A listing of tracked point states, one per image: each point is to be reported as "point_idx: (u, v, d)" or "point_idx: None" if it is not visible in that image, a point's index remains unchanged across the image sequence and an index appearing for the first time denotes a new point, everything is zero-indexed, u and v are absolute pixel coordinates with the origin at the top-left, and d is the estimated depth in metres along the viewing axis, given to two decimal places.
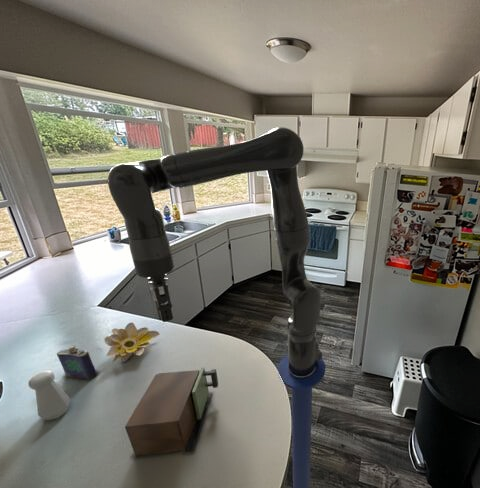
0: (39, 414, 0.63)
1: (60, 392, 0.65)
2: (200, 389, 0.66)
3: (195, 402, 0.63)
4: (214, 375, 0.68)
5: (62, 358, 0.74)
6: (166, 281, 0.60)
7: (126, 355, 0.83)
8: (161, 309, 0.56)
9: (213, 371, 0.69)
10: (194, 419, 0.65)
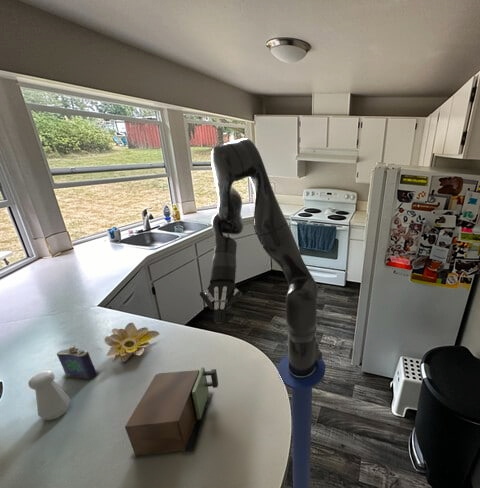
0: (39, 414, 0.63)
1: (60, 392, 0.65)
2: (200, 389, 0.66)
3: (195, 402, 0.63)
4: (214, 375, 0.68)
5: (62, 358, 0.74)
6: None
7: (126, 355, 0.83)
8: None
9: (213, 371, 0.69)
10: (194, 419, 0.65)
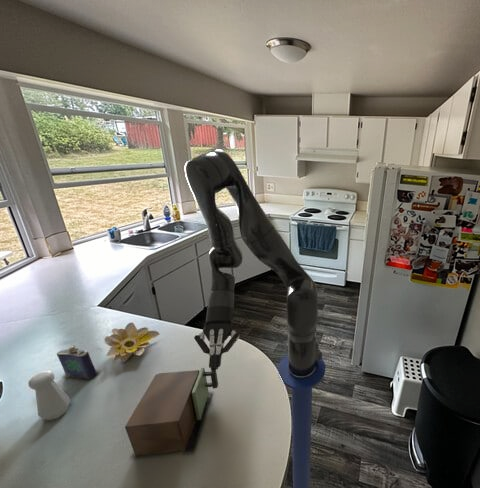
0: (39, 414, 0.63)
1: (60, 392, 0.65)
2: (200, 389, 0.65)
3: (195, 403, 0.63)
4: (214, 375, 0.68)
5: (62, 358, 0.74)
6: None
7: (126, 355, 0.83)
8: None
9: (213, 371, 0.68)
10: (194, 419, 0.65)
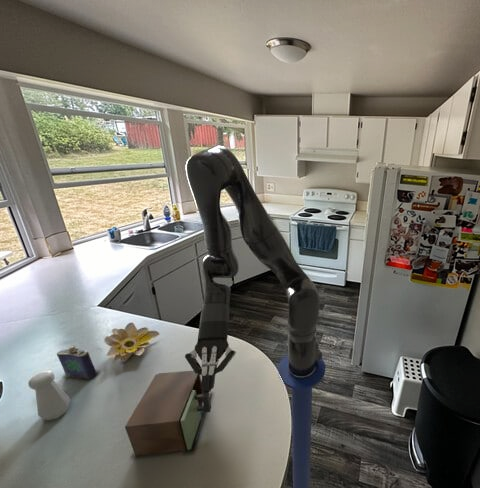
0: (39, 414, 0.63)
1: (60, 392, 0.65)
2: (190, 416, 0.59)
3: (184, 431, 0.57)
4: (206, 399, 0.62)
5: (62, 358, 0.74)
6: None
7: (126, 355, 0.83)
8: None
9: (205, 394, 0.62)
10: None
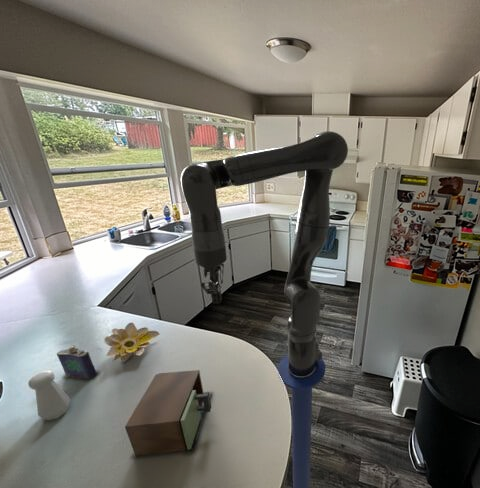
0: (39, 414, 0.63)
1: (60, 392, 0.65)
2: (190, 415, 0.59)
3: (184, 431, 0.57)
4: (206, 399, 0.62)
5: (62, 358, 0.74)
6: (216, 272, 0.65)
7: (126, 355, 0.83)
8: (208, 292, 0.65)
9: (205, 394, 0.62)
10: None
